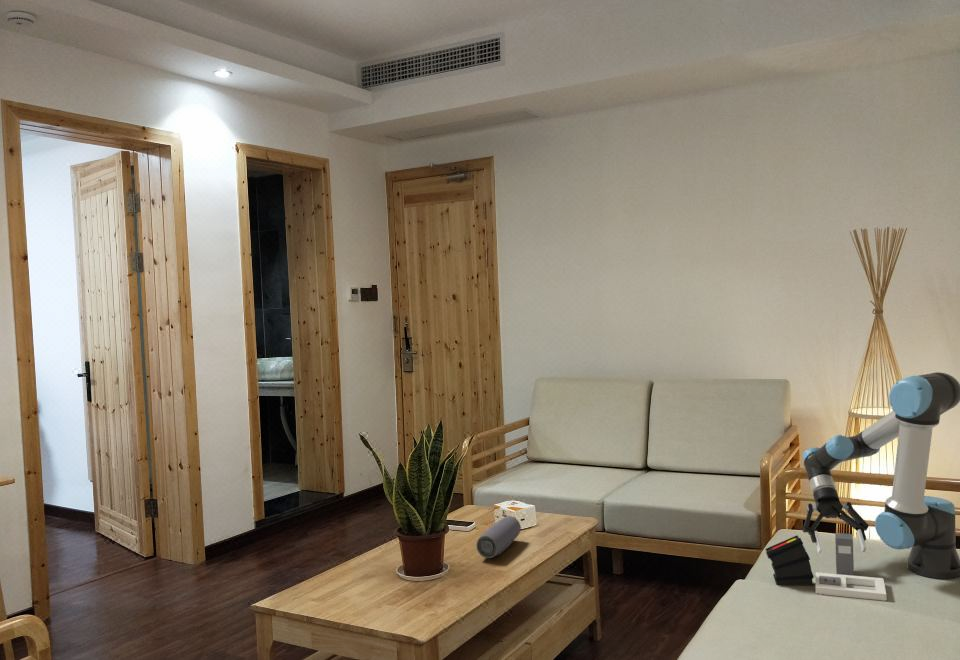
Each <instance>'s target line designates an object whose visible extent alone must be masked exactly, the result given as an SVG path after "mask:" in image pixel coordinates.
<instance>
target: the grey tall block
mask: <svg viewBox="0 0 960 660" xmlns="http://www.w3.org/2000/svg"><path fill="white" fill-rule="evenodd" d="M834 534H835V535H834V537H835V539H834V541H835V542H834V543H835V568H836V570H835V571H836V573H835V574H841V575H852V576H855V572H854V571H855V569H854V568H855V565H854V560H855V559H854V537H853V534H852V533H841V532H835V533H834Z"/></svg>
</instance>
